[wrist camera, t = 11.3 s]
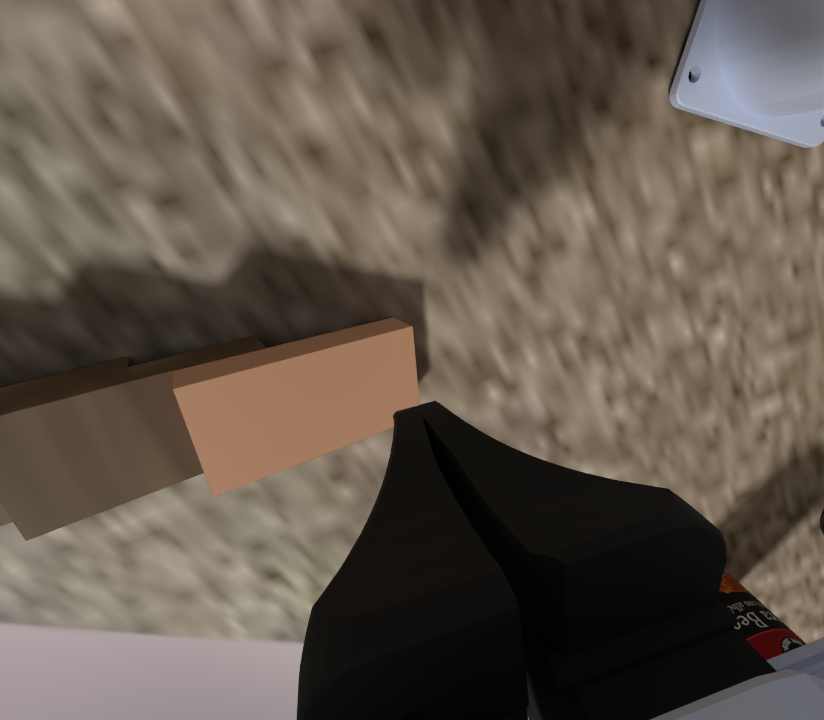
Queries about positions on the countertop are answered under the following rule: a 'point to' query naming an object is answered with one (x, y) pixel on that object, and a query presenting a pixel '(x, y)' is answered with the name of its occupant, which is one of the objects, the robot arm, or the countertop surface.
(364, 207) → the countertop surface
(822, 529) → the supplement bottle
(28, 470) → the domino
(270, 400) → the domino
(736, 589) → the canned food
